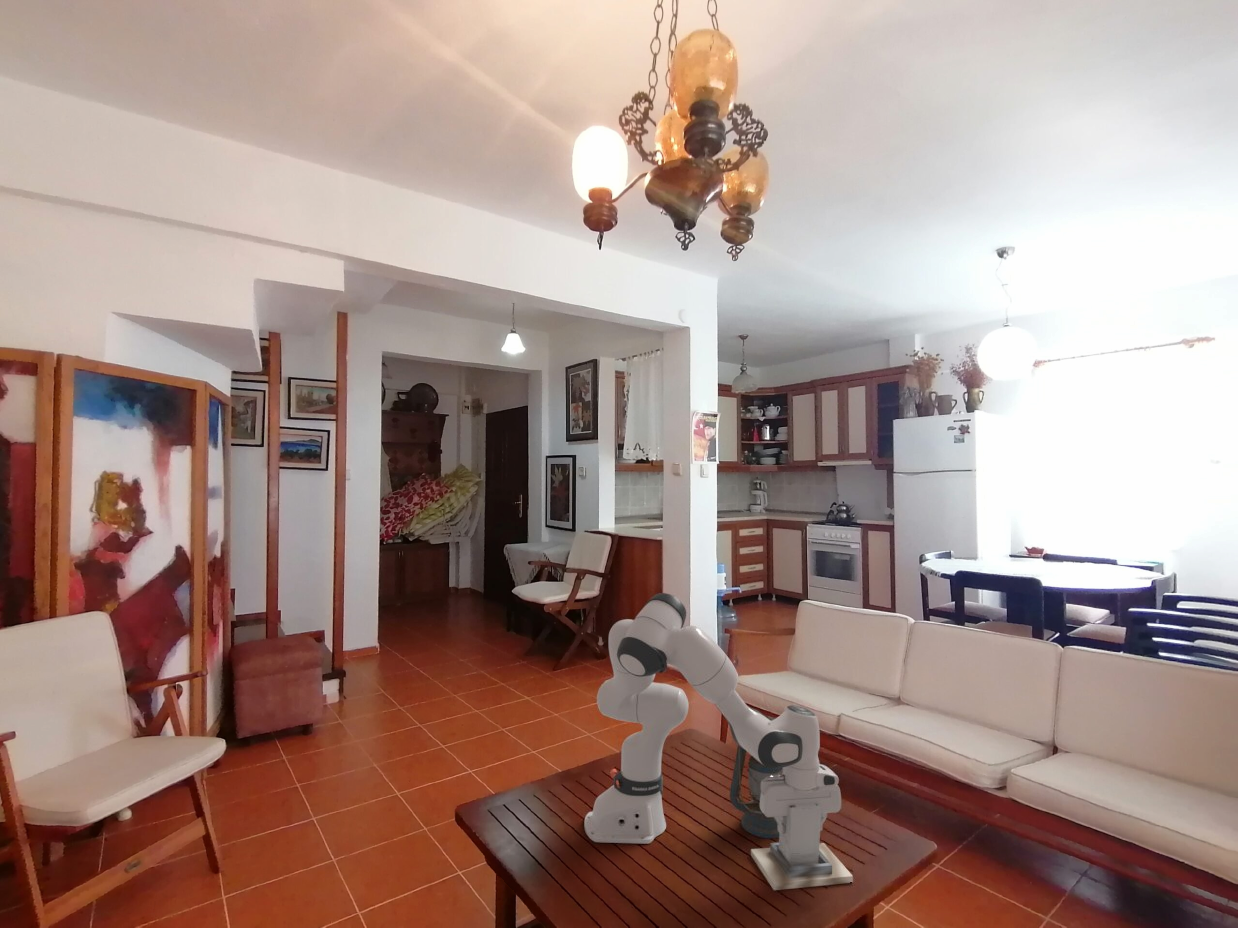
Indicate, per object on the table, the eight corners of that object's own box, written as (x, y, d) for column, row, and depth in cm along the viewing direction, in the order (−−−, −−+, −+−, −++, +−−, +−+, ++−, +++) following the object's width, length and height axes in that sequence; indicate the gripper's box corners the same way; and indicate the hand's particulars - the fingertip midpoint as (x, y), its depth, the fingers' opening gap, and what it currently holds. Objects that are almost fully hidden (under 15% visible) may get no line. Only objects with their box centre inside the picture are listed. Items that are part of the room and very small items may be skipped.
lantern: (792, 813, 180) (793, 708, 181) (808, 842, 166) (809, 727, 167) (725, 813, 180) (726, 707, 181) (735, 841, 166) (736, 726, 167)
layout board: (773, 890, 146) (773, 874, 146) (750, 855, 160) (751, 841, 160) (852, 882, 149) (852, 867, 150) (823, 848, 163) (823, 834, 163)
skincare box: (807, 851, 159) (811, 793, 159) (819, 867, 153) (823, 806, 153) (776, 853, 157) (780, 793, 157) (786, 868, 151) (791, 807, 151)
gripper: (766, 782, 150) (765, 841, 150) (844, 777, 154) (844, 834, 154) (755, 770, 157) (755, 826, 156) (831, 765, 160) (831, 821, 160)
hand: (799, 830), depth 155 cm, fingers open, 8 cm apart
